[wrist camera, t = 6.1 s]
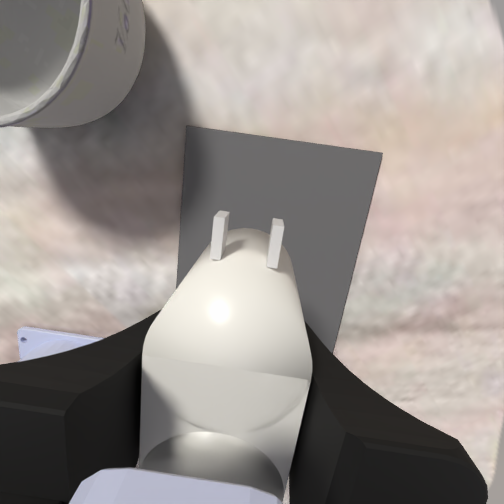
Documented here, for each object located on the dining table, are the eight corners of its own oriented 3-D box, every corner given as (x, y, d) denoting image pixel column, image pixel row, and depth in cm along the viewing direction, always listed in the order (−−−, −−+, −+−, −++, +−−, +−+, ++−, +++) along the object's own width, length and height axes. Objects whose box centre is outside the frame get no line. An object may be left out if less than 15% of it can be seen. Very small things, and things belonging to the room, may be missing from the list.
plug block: (270, 394, 15) (271, 548, 9) (189, 382, 15) (137, 526, 9) (306, 208, 12) (339, 255, 6) (205, 194, 12) (146, 227, 6)
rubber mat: (327, 369, 23) (327, 372, 23) (173, 346, 24) (172, 348, 23) (381, 152, 19) (382, 153, 18) (187, 126, 19) (186, 125, 18)
